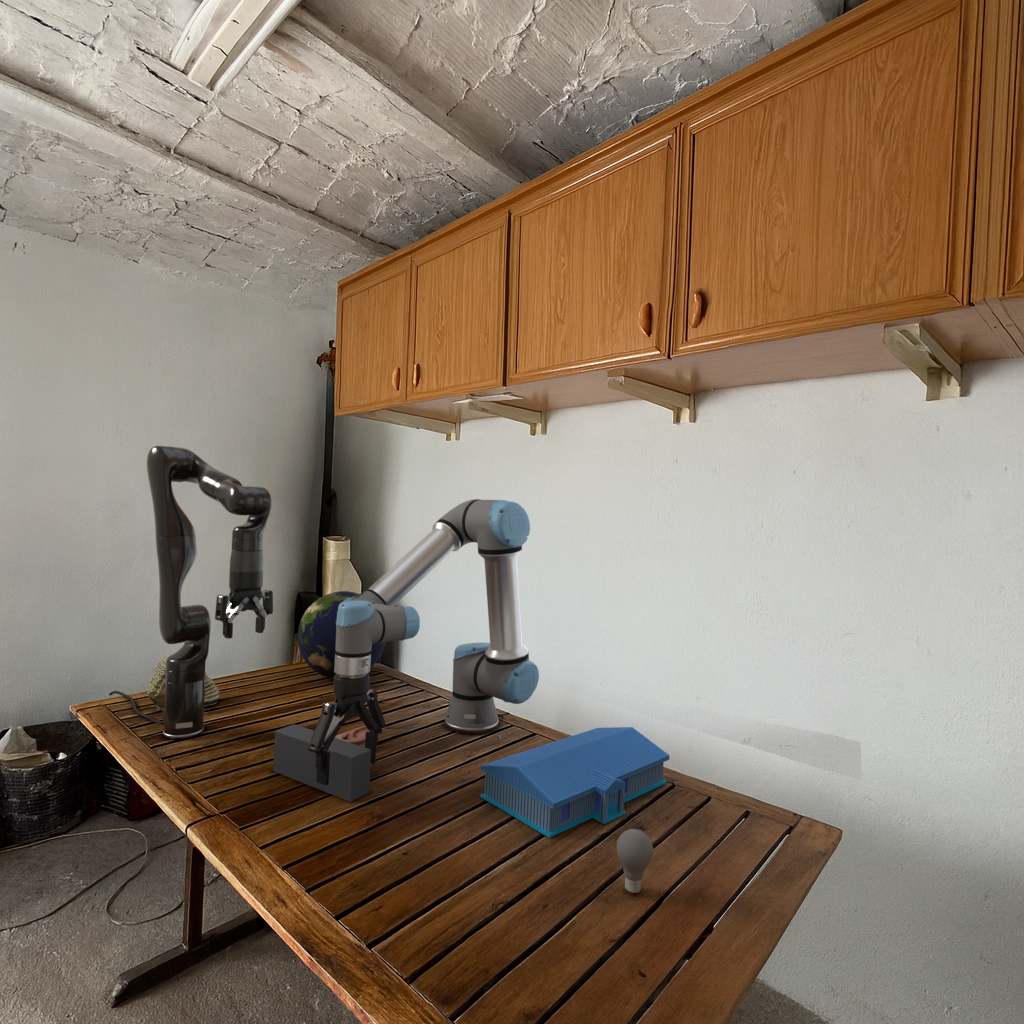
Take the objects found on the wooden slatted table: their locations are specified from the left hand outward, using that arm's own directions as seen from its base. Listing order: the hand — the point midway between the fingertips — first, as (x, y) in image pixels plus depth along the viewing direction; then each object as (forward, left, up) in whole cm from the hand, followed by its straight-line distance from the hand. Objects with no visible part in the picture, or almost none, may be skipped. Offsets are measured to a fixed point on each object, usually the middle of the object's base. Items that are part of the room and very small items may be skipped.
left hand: (244, 635), depth 154 cm
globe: (-43, +50, -29) cm, 72 cm away
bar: (+26, +8, -29) cm, 40 cm away
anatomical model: (+11, +22, -29) cm, 38 cm away
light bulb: (+95, +29, -29) cm, 103 cm away
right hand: (+34, +10, -24) cm, 43 cm away
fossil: (-43, 0, -29) cm, 52 cm away
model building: (+66, +50, -29) cm, 88 cm away
